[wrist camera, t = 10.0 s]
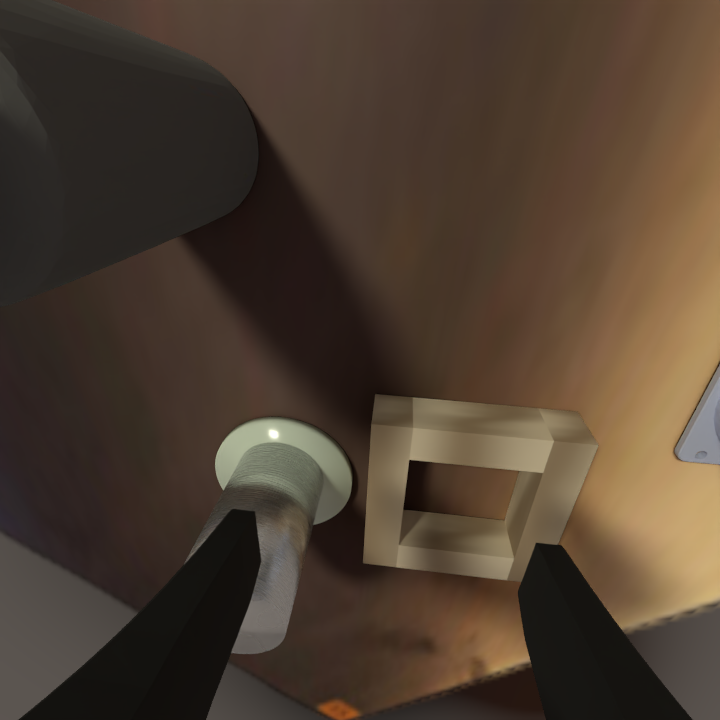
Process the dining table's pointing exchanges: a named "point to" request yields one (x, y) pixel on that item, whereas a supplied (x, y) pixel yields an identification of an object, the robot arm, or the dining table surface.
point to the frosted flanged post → (272, 533)
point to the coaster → (299, 436)
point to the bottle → (106, 145)
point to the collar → (482, 449)
